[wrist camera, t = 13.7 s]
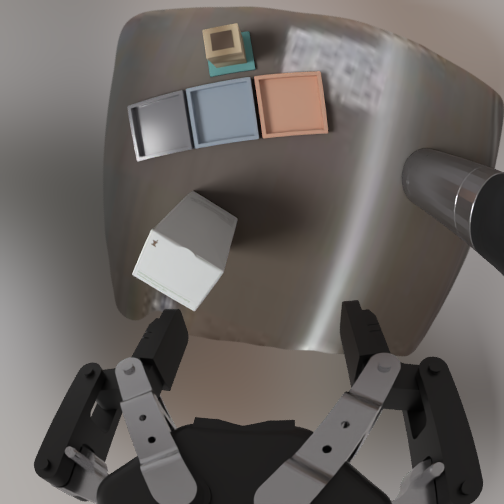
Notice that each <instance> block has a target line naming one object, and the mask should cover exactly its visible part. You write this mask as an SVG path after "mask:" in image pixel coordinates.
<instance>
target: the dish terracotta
mask: <svg viewBox="0 0 504 504" xmlns="http://www.w3.org/2000/svg"><path fill="white" fill-rule="evenodd" d="M254 80H255V87H256V93H257V100H258V107H259V114H260V121H261V128H262V136H263V138H271V137H281V136H292V135H305V134H322V133H328V125H327V116H326V108H325V100H324V92H323V85H322V78H321V72H320V71H317V72H295V73H282V74H271V75H262V76H254Z"/></svg>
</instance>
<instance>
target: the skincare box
mask: <svg viewBox="0 0 504 504" xmlns="http://www.w3.org/2000/svg"><path fill="white" fill-rule="evenodd" d="M237 220H238V219H237V218H236V217H235V216H233V215H231V214H230V213H228V212H227V211H225V210H223V209H222V208H220V207H219V206H217V205H215V204H214V203H212V202H211V201H209V200H207V199H206V198H204V197H203V196H201V195H199V194H198V193H196V192H194V191H191V192H190V193H189V194H188V195H187V196H186V197H185V198H184V199H183V200H182V201H181V202H180V203H179V204H178V205H177V206H176V207H175V208H174V209H173V210H172V211H171V212H170V213H169V214H168V215H167V216H166V217H165V218H164V219H163V220H162V221H161V222H160V223H159V224H158V225H157V226H155V227H154V228H153V229H152V230H151V232H150V234H149V236H148V238H147V240H146V243H145V245H144V247H143V249H142V252H141V254H140V257H139V259H138V261H137V264H136V266H135V269H134V271H133V274H132V275H134V276H136V277H137V278H139V279H140V280H142V281H144V282H145V283H147V284H149V285H150V286H152V287H154V288H155V289H157V290H159V291H160V292H162V293H164V294H165V295H167V296H169V297H171V298H172V299H174V300H176V301H177V302H179V303H181V304H183V305H184V306H186V307H188V308H190V309H191V310H193V311H195V310H196V309H197V308H198V307H199V305H200V304H201V303H202V301H203V300H204V299H205V297H206V296H207V295H208V293H209V292H210V291H211V289H212V288H213V286H214V285H215V284H216V282H217V281H218V280H219V278H220V277H221V275H222V274H223V273H224V269H225V265H226V261H227V257H228V254H229V250H230V246H231V242H232V239H233V235H234V232H235V228H236V224H237Z"/></svg>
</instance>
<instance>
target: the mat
mask: <svg viewBox="0 0 504 504" xmlns="http://www.w3.org/2000/svg"><path fill="white" fill-rule="evenodd" d="M241 34H242V37H243V42H244V48H245V54H246V60H247V63H244V64H237V65H231V66H225V67H220V68H216V67H215V66H214V65H213V64H212V63H211V62H210V61H209V60H208V65H209V72H210V77H214V76H219V75H224V74H230V73H236V72H243V71H250V70H255V64H254V58H253V52H252V46H251V40H250V34H249V31H248V32H241Z"/></svg>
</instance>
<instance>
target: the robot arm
mask: <svg viewBox="0 0 504 504" xmlns="http://www.w3.org/2000/svg"><path fill="white" fill-rule="evenodd" d="M402 185H403V188H404V191H405V193H406V195H407V197H408V198H409V199H410V201H412V202H413V203H414V204H416V205H417V206H418V207H420V208H421V209H423V210H424V211H425V212H427V213H428V214H429V215H431V216H432V217H434V218H435V219H436V220H438V221H439V222H440V223H442V224H443V225H444V226H446V227H447V228H448V229H449V230H451V231H452V232H453V233H455V234H456V235H457V236H458V237H460V238H461V239H462V240H463V241H465V242H466V243H467V244H468V245H469V246H471V247H472V248H473V249H474V250H475V251H477V252H478V253H479V254H480V255H481V256H482V257H483V258H484V259H486V260H487V261H488V262H489V263H490V264H492V265H493V266H494V267H495V268H496V269H497V270H498V271H499V272H501V273H502V274H503V275H504V172H501V171H498V170H496V169H493V168H490V167H488V166H485V165H482V164H479V163H476V162H473V161H470V160H467V159H464V158H461V157H457V156H454V155H451V154H447V153H444V152H441V151H437V150H433V149H428V148H424V149H419V150H417V151H415V152H414V153H413V154H412V155H410V157H409V158H408V159H407V161H406V163H405V165H404V168H403V172H402ZM340 336H341V341H342V345H343V350H344V354H345V359H346V364H347V368H348V373H349V378H350V383H351V389H350V391H349V392H345V393H344V394H343V396H341V398H340V399H339V401H338V402H337V403H336V405H335V406H334V407H333V409H332V410H331V411H330V413H329V414H328V415H327V416H326V418H325V419H324V420H323V422H322V423H321V424H320V425H319V427H318V428H317V429H316V430H315V431H314V432H312V431H310V430H308V429H304V428H301V427H296V426H295V420H282V421H281V420H280V421H266V422H261V423H256V424H251V425H246V426H241V425H237V424H233V423H229V422H226V421H222V420H219V419H208V418H197V417H195V420H194V424H190V425H185V426H182V427H179V428H176V426H175V424H174V422H173V420H172V419H171V416H170V415H169V412H168V410H167V408H166V406H165V404H164V402H163V400H162V397H161V396H160V393H161V391H162V390H166V391H170V390H171V387H172V384H173V381H174V378H175V376H176V373H177V370H178V367H179V364H180V362H181V359H182V357H183V354H184V351H185V348H186V346H187V343H188V331H187V328H186V325H185V322H184V319H183V316H182V313H181V311H180V310H179V309H165V310H164V311H163V313H162V315H161V316H160V318H159V319H158V318H156V319H155V320H154V321H153V322H152V323H151V324H149V326H148V328H147V330H146V333H145V334H144V335H143V337H142V339H141V341H140V342H139V344H138V346H137V348H136V350H135V352H134V353H133V355H132V357H131V358H127V359H124V360H122V361H121V362H120V363H119V364H118V365H117V367H116V368H114V369H107V370H102V368H101V367H100V365H99V364H97V363H89V364H86V365H84V366H83V367H82V368H81V369H80V370H79V372H78V374H77V375H76V377H75V379H74V381H73V383H72V385H71V386H70V388H69V390H68V392H67V394H66V396H65V397H64V399H63V401H62V403H61V405H60V407H59V409H58V411H57V413H56V415H55V417H54V419H53V421H52V423H51V425H50V427H49V429H48V432H47V434H46V436H45V438H44V440H43V442H42V445H41V447H40V449H39V451H38V454H37V456H36V459H35V462H34V468H35V471H36V473H37V474H38V475H39V476H40V477H41V478H43V479H44V480H46V481H47V482H49V483H50V484H51V485H53V486H54V487H56V488H57V489H59V490H61V491H63V492H64V493H66V494H68V495H71V496H73V497H75V498H77V499H79V500H81V501H91V502H93V503H96V504H470V503H472V502H474V501H475V500H476V499H477V498H478V496H479V495H480V493H481V491H482V487H483V479H482V474H481V469H480V465H479V460H478V456H477V452H476V448H475V445H474V440H473V437H472V433H471V430H470V427H469V423H468V421H467V417H466V414H465V411H464V408H463V405H462V402H461V399H460V397H459V394H458V391H457V388H456V386H455V383H454V381H453V378H452V376H451V373H450V371H449V368H448V366H447V364H446V363H445V362H444V361H443V360H442V359H440V358H437V357H428V358H425V359H424V360H423V361H422V362H421V363H420V365H413V364H412V365H411V364H404V363H401V362H400V361H399V359H398V358H397V357H396V356H394V355H392V354H391V353H390V351H389V348H388V346H387V343H386V340H385V338H384V335H383V333H382V331H381V328H380V325H379V323H378V320H377V318H376V316H375V315H374V314H373V313H372V312H371V311H370V310H369V309H368V310H362V309H361V307H360V304H359V301H358V300H354V301H344V302H342V310H341V322H340ZM95 401H96V402H97V405H96V407H95V409H94V412H93V414H92V416H91V417H90V413H91V409H92V408H93V405H94V403H95ZM383 409H395V410H402V411H403V416H404V421H405V426H406V431H407V437H408V443H409V449H410V455H411V461H412V470H411V471H410V472H409V473H408V474H407V475H406V476H405V477H404V478H403V480H402V482H401V486H400V492H399V495H398V496H397V498H396V499H395V500H393V501H391V500H390V499H389V497H388V496H387V495H386V494H385V493H384V492H383V491H381V490H380V489H379V488H378V487H377V486H375V485H374V484H373V483H372V482H370V481H369V480H368V479H367V478H366V477H365V476H363V475H362V474H361V473H360V472H359V471H358V470H357V469H355V468H354V467H353V466H352V465H351V464H350V462H351V461H352V459H353V458H354V457H355V455H356V453H357V452H358V451H359V449H360V447H361V446H362V444H363V443H364V441H365V439H366V437H367V436H368V434H369V433H370V431H371V429H372V428H373V426H374V424H375V422H376V421H377V419H378V417H379V416H380V414H381V412H382V410H383ZM122 412H123V415H124V418H125V422H126V425H127V428H128V431H129V434H130V436H131V439H132V442H133V445H134V447H135V450H136V453H137V455H138V456H137V457H135V458H134V459H132V460H131V461H129V462H128V463H126V464H125V465H123V466H122V467H120V468H119V469H117V470H116V471H114V472H113V473H111V474H108V473H107V471H108V470H107V466H106V464H105V460H106V457H107V454H108V451H109V448H110V445H111V442H112V439H113V437H114V434H115V431H116V428H117V426H118V423H119V419H120V417H121V415H122Z"/></svg>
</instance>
